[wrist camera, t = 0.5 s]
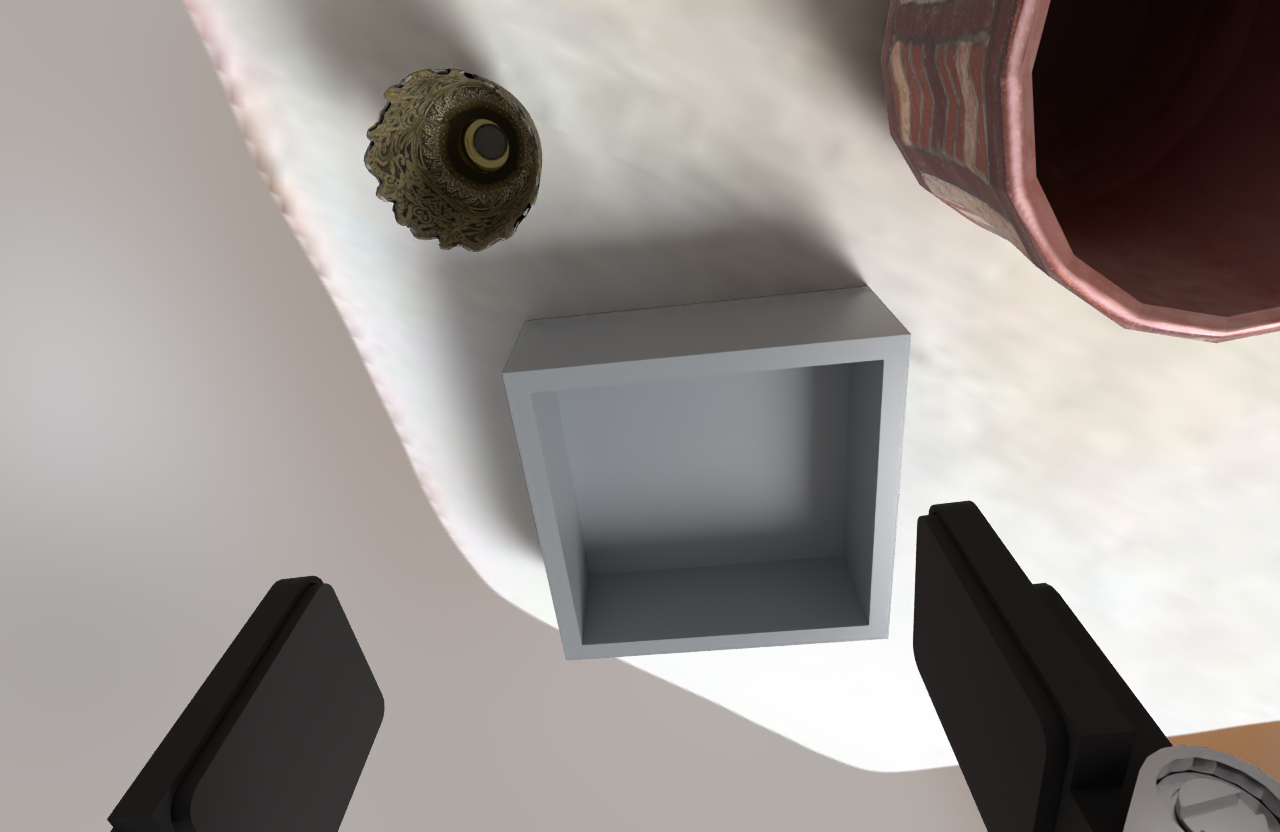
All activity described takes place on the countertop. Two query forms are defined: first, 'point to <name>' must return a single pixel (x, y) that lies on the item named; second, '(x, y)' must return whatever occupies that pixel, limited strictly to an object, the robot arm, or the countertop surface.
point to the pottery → (1106, 146)
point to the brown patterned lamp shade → (454, 159)
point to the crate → (715, 470)
